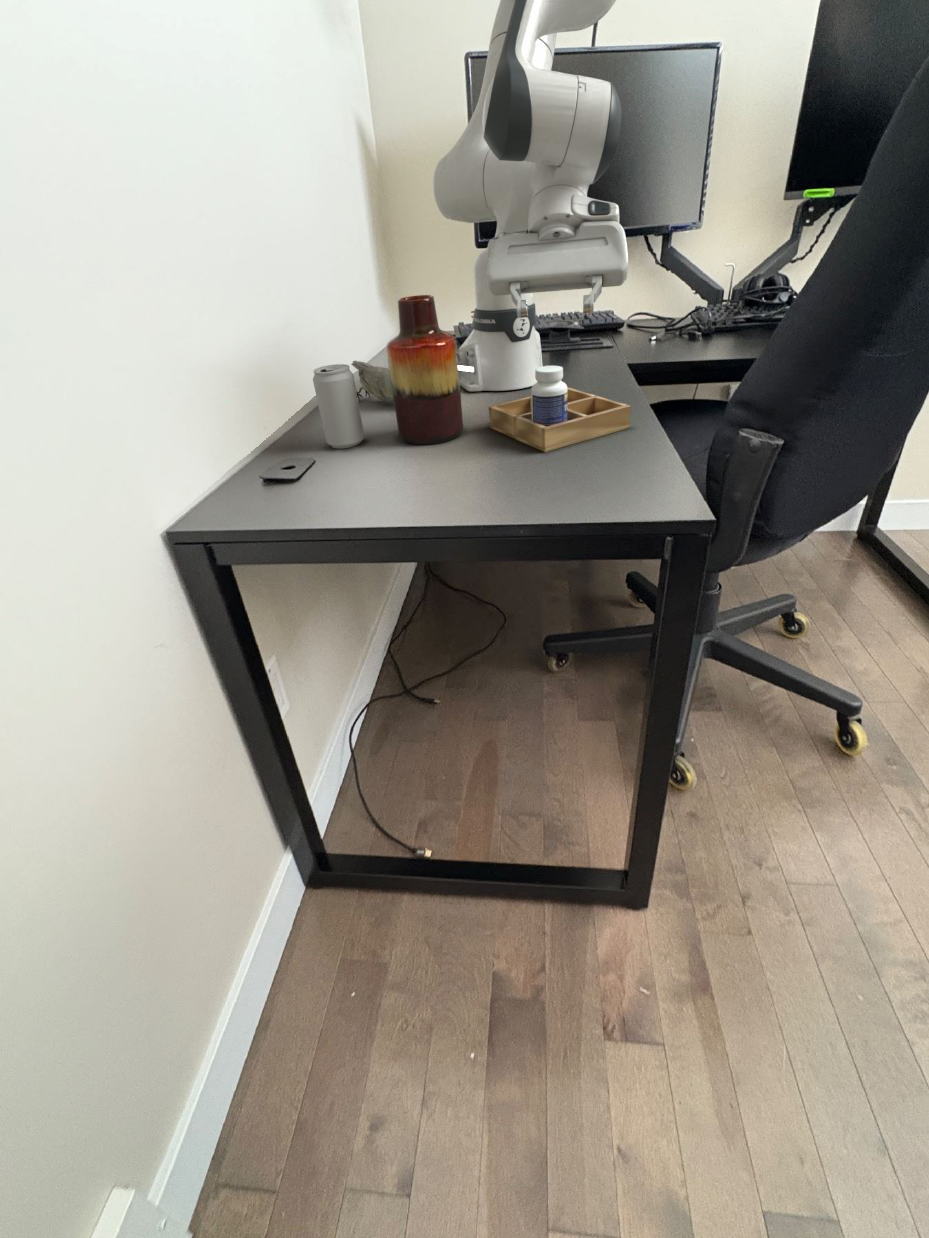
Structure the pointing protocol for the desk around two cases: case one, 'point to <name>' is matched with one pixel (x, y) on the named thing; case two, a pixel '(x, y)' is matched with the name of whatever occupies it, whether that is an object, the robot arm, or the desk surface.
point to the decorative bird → (375, 381)
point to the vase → (424, 375)
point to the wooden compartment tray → (583, 422)
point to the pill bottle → (549, 396)
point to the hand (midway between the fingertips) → (554, 313)
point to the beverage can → (338, 405)
